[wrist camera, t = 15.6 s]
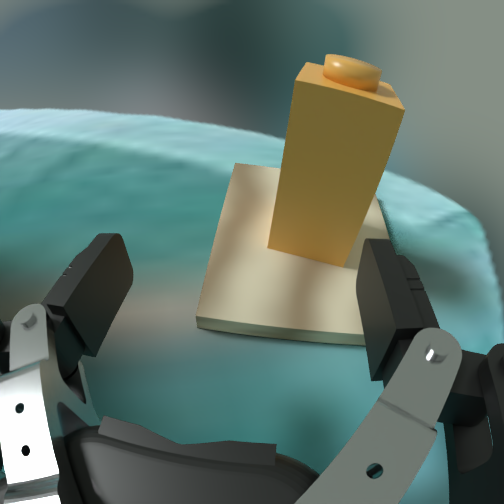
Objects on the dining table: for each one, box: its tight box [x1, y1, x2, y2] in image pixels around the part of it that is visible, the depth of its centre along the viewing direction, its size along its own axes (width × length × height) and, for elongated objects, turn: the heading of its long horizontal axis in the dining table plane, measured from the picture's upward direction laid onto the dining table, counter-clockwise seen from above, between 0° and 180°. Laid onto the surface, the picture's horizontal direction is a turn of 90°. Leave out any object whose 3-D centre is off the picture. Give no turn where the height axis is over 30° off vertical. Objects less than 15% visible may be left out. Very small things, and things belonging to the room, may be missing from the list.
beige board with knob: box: [196, 163, 390, 345], centre depth 23 cm, size 14×17×6 cm
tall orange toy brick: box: [267, 54, 405, 267], centre depth 19 cm, size 6×6×13 cm
